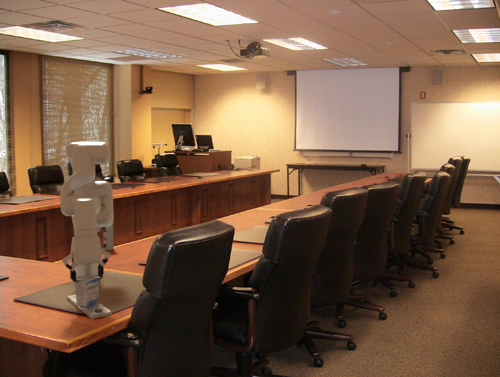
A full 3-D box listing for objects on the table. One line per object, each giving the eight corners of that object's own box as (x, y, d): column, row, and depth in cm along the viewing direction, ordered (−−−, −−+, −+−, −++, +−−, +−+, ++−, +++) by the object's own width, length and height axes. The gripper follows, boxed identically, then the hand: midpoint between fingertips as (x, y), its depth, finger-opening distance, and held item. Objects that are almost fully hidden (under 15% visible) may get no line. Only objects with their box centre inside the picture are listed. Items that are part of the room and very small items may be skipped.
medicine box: (86, 307, 184) (85, 283, 183) (76, 306, 185) (75, 282, 184) (99, 300, 192) (98, 277, 191) (89, 299, 193) (88, 276, 192)
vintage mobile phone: (102, 249, 284) (100, 204, 282) (110, 248, 288) (108, 204, 285) (105, 251, 282) (104, 205, 279) (113, 249, 285) (112, 204, 283)
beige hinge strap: (67, 299, 197) (67, 294, 197) (85, 295, 201) (85, 291, 201) (91, 319, 175) (91, 313, 175) (111, 314, 179) (111, 309, 179)
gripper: (105, 228, 194) (106, 272, 196) (58, 233, 184) (60, 280, 186) (112, 231, 188) (114, 277, 190) (64, 237, 178) (66, 285, 180)
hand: (87, 278), depth 188 cm, fingers open, 9 cm apart
